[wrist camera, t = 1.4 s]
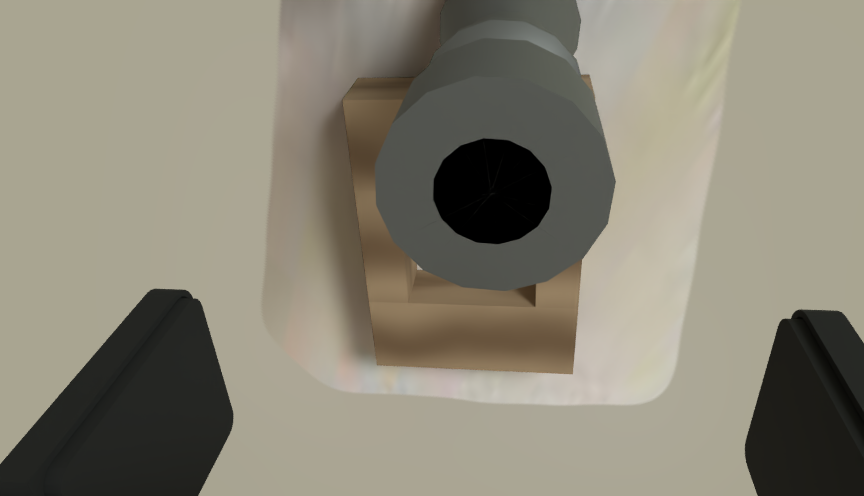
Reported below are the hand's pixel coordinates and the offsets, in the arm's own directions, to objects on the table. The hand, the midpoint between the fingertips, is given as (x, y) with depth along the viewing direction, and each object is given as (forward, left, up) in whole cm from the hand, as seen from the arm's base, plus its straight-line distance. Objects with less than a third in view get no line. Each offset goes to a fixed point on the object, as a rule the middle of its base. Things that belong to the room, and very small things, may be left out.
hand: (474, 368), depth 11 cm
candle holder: (0, 0, -31) cm, 31 cm away
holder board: (+15, -3, -31) cm, 34 cm away
